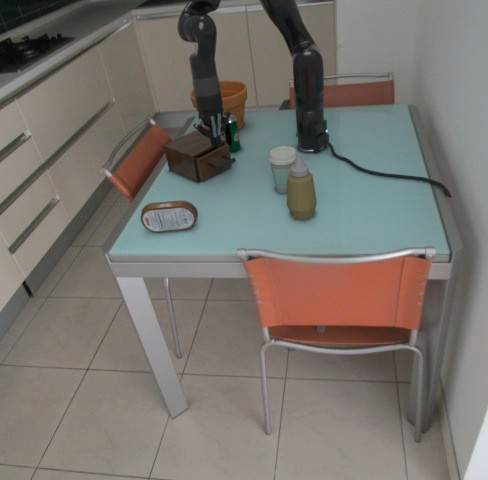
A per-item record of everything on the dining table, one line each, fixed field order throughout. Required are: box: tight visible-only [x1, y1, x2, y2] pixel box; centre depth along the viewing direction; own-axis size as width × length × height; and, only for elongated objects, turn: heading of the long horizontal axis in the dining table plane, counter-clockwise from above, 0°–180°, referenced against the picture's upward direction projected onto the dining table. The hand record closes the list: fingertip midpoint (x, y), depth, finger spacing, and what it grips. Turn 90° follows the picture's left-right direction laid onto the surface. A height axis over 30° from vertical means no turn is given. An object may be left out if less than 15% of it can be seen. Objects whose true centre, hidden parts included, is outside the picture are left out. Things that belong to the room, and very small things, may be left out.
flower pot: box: [189, 80, 248, 135], centre depth 176 cm, size 21×21×15 cm
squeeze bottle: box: [286, 152, 318, 221], centre depth 121 cm, size 8×8×18 cm
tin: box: [140, 199, 199, 233], centre depth 124 cm, size 15×3×8 cm, turn 92°
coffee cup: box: [267, 145, 298, 194], centre depth 135 cm, size 8×8×12 cm
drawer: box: [195, 144, 236, 182], centre depth 149 cm, size 19×12×7 cm, turn 47°
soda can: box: [222, 115, 242, 153], centre depth 160 cm, size 5×5×12 cm
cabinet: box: [163, 129, 226, 184], centre depth 152 cm, size 15×14×9 cm
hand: (216, 147), depth 142 cm, fingers closed
